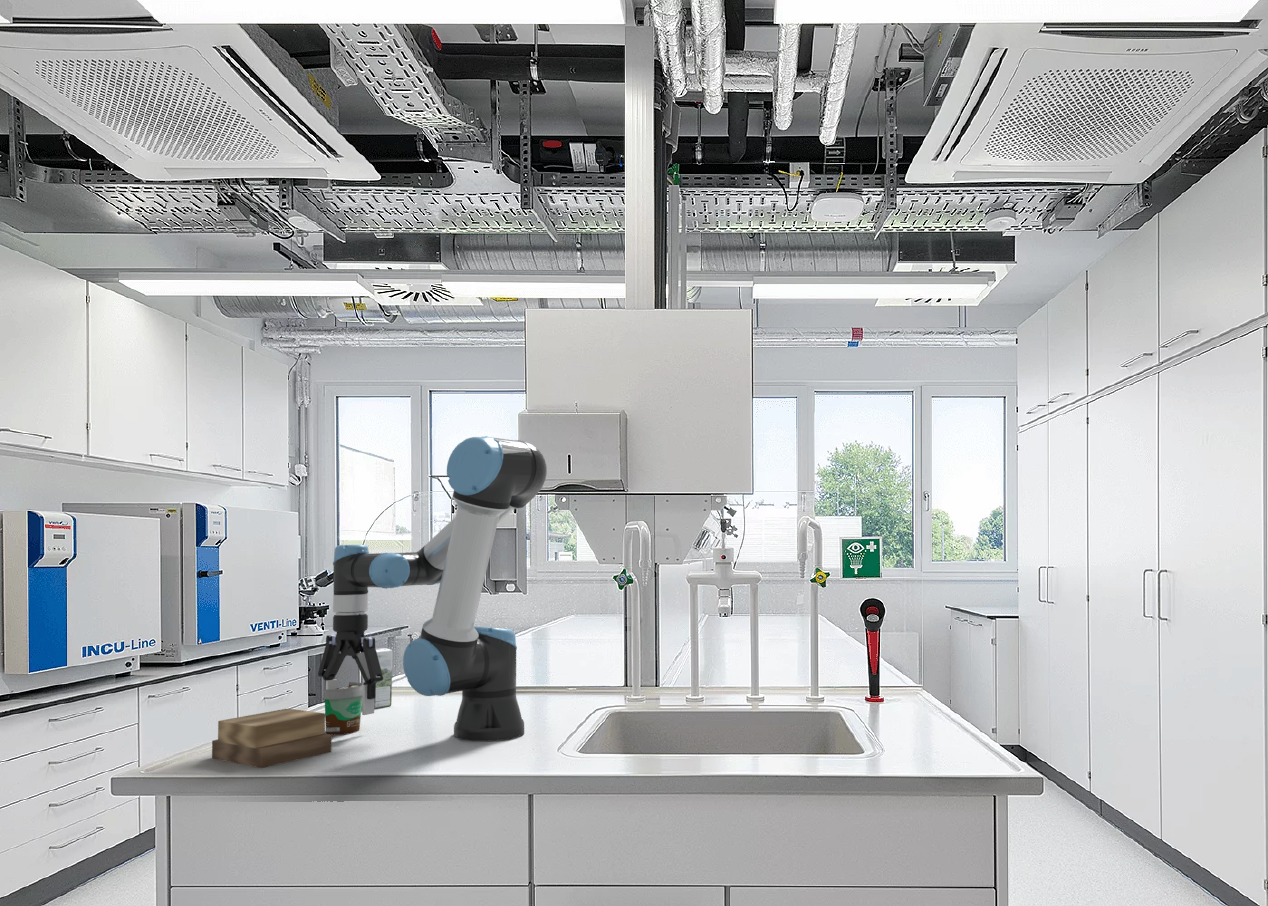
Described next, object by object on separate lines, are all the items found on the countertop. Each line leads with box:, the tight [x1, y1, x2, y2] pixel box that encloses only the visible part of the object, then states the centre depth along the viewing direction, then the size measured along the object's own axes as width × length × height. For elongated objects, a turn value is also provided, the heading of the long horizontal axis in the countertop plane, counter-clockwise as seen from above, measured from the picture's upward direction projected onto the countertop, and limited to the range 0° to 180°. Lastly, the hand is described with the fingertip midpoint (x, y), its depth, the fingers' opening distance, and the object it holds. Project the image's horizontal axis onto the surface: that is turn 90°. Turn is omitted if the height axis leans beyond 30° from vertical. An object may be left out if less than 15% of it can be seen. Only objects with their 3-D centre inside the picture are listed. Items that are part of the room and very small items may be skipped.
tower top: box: [217, 708, 326, 748], centre depth 195 cm, size 12×16×4 cm
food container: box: [322, 681, 363, 736], centre depth 218 cm, size 12×6×10 cm, turn 168°
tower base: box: [211, 733, 333, 769], centre depth 195 cm, size 16×16×4 cm
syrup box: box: [360, 647, 394, 710], centre depth 250 cm, size 6×6×14 cm
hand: (349, 711), depth 218 cm, fingers open, 12 cm apart
